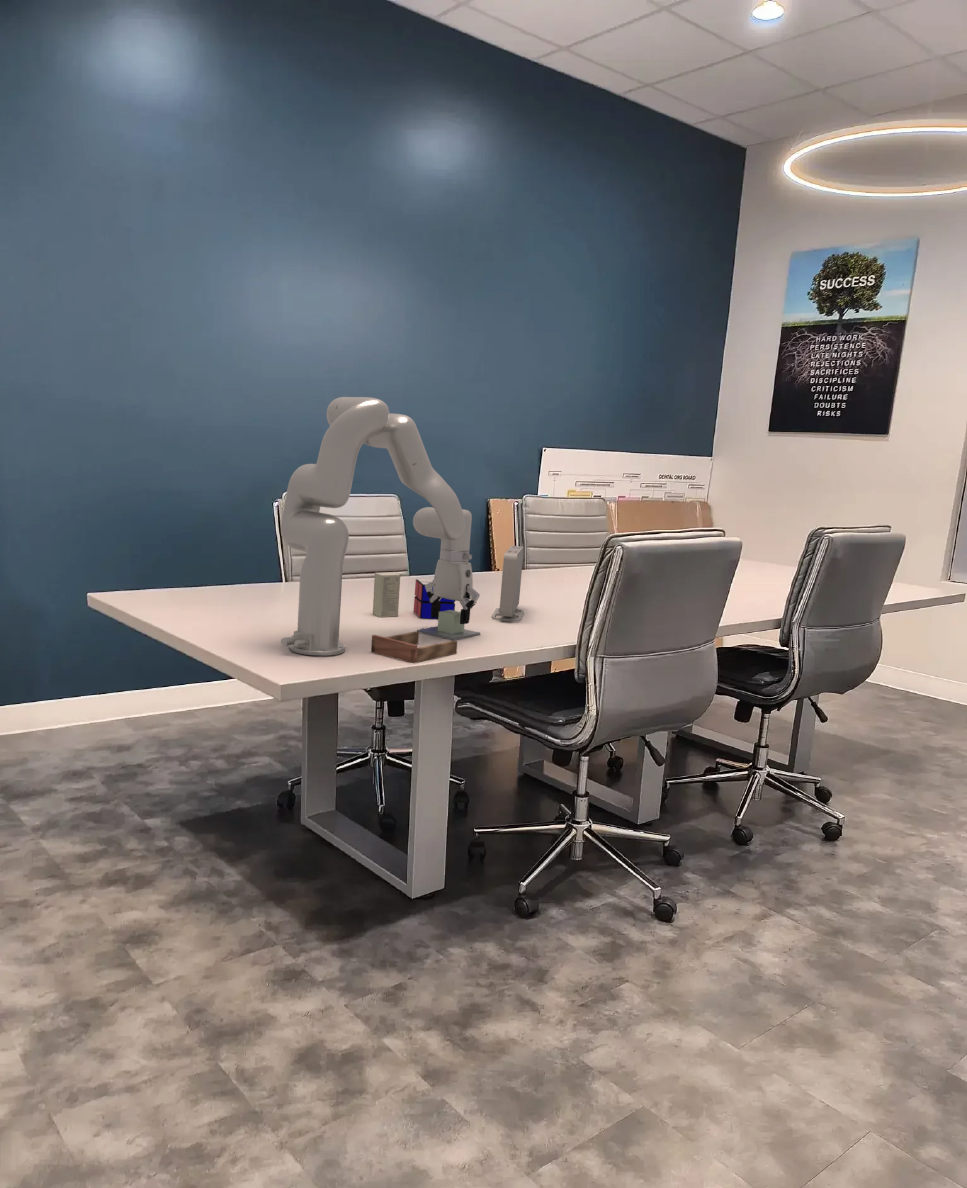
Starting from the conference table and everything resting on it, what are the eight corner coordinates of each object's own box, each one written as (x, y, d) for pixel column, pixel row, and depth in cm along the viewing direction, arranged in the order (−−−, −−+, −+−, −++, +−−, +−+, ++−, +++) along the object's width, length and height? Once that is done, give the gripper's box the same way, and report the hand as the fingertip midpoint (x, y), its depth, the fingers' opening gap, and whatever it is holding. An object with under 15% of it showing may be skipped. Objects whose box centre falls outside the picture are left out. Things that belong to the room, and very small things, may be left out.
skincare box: (391, 613, 265) (393, 572, 263) (398, 616, 262) (401, 574, 260) (371, 614, 262) (374, 572, 260) (379, 617, 258) (381, 574, 256)
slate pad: (452, 640, 235) (453, 638, 235) (416, 632, 242) (416, 629, 242) (480, 634, 245) (480, 632, 245) (444, 627, 252) (444, 624, 252)
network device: (519, 624, 264) (525, 555, 261) (488, 621, 265) (494, 552, 262) (525, 610, 289) (531, 546, 286) (498, 607, 290) (503, 544, 287)
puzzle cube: (420, 619, 261) (422, 584, 259) (413, 612, 270) (415, 578, 269) (454, 620, 263) (456, 585, 262) (446, 613, 273) (448, 580, 271)
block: (452, 633, 241) (453, 614, 240) (437, 630, 244) (438, 611, 243) (463, 631, 245) (465, 613, 244) (449, 628, 248) (450, 609, 247)
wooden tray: (413, 662, 208) (414, 645, 207) (371, 652, 215) (372, 635, 215) (456, 653, 221) (457, 637, 220) (414, 643, 228) (415, 627, 228)
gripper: (489, 560, 239) (484, 624, 241) (437, 551, 248) (432, 613, 251) (472, 561, 232) (467, 627, 235) (419, 552, 242) (415, 616, 245)
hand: (449, 620), depth 243 cm, fingers open, 9 cm apart
